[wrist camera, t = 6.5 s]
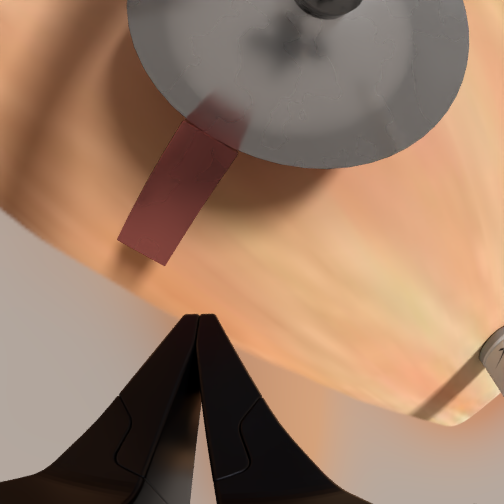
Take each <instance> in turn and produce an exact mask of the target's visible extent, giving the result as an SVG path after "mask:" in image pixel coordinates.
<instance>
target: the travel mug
mask: <svg viewBox="0 0 504 504" xmlns="http://www.w3.org/2000/svg"><path fill="white" fill-rule="evenodd" d="M479 359H480V361H481V363H482V364H483V366H484V367H485V368H486V370H487V371H488V373H489V374H490V376H491V378H492V379H493V381H494V382H495V384H496V385H497V387H498V388H499V390H500V392H501V393H502V395H503V396H504V327H502V328H500V329H499V330H497V331H496V332H495V333H494V334H493V335H492V336H491V337H490V338H489V339H488V340H487V342H486V343H485V344H484V346H483V348H482V350H481V352H480V356H479Z"/></svg>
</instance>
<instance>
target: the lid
mask: <svg viewBox="0 0 504 504" xmlns="http://www.w3.org/2000/svg"><path fill="white" fill-rule="evenodd" d="M127 14H128V24H129V29H130V33H131V37H132V40H133V44H134V48H135V50H136V52H137V54H138V57H139V59H140V61H141V63H142V65H143V68H144V69H145V71H146V72H147V74H148V75H149V77H150V79H151V80H152V82H153V83H154V85H155V86H156V88H157V89H158V90H159V91H160V92H161V94H162V95H163V96H164V97H165V98H166V99H167V100H168V102H169V103H170V104H171V105H172V106H173V107H174V108H175V109H176V110H177V111H179V112H180V113H181V114H182V115H183V116H184V117H185V118H186V119H185V120H183V122H182V123H181V125H180V126H179V128H178V129H177V131H176V133H175V134H174V136H173V138H172V139H171V141H170V142H169V144H168V146H167V147H166V149H165V151H164V152H163V154H162V156H161V158H160V159H159V161H158V163H157V164H156V166H155V168H154V170H153V171H152V173H151V175H150V177H149V179H148V180H147V182H146V184H145V186H144V188H143V190H142V191H141V193H140V195H139V197H138V199H137V201H136V203H135V205H134V207H133V208H132V210H131V212H130V214H129V216H128V218H127V220H126V222H125V224H124V226H123V228H122V230H121V232H120V234H119V237H118V239H117V240H118V241H120V242H122V243H123V244H125V245H127V246H129V247H131V248H132V249H134V250H136V251H138V252H140V253H141V254H143V255H145V256H147V257H149V258H150V259H152V260H154V261H156V262H158V263H160V264H162V265H163V266H165V265H166V264H167V262H168V260H169V259H170V257H171V255H172V254H173V252H174V251H175V249H176V247H177V246H178V244H179V243H180V241H181V239H182V238H183V236H184V235H185V233H186V231H187V230H188V228H189V227H190V225H191V224H192V222H193V221H194V219H195V217H196V216H197V214H198V213H199V211H200V210H201V208H202V207H203V205H204V204H205V202H206V201H207V199H208V198H209V196H210V195H211V193H212V192H213V190H214V189H215V187H216V186H217V184H218V183H219V181H220V180H221V178H222V177H223V175H224V174H225V172H226V171H227V169H228V168H229V166H230V165H231V164H232V162H233V161H234V159H235V158H236V156H237V155H238V151H237V150H239V151H241V152H244V153H246V154H249V155H251V156H254V157H256V158H260V159H263V160H267V161H271V162H274V163H278V164H282V165H289V166H295V167H301V168H318V169H333V168H346V167H353V166H358V165H363V164H368V163H372V162H375V161H378V160H381V159H384V158H387V157H389V156H392V155H394V154H396V153H398V152H400V151H402V150H404V149H406V148H408V147H409V146H411V145H412V144H413V143H415V142H416V141H418V140H419V139H421V138H422V137H423V136H425V135H426V134H427V133H428V132H429V131H430V130H431V129H432V128H433V127H434V126H435V125H436V124H437V123H438V122H439V121H440V120H441V118H442V117H443V116H444V115H445V113H446V112H447V111H448V109H449V108H450V106H451V104H452V103H453V101H454V99H455V97H456V96H457V93H458V91H459V88H460V86H461V84H462V81H463V78H464V74H465V70H466V66H467V60H468V52H469V28H468V21H467V15H466V10H465V6H464V3H463V0H127Z"/></svg>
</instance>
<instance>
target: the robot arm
mask: <svg viewBox="0 0 504 504" xmlns="http://www.w3.org/2000/svg"><path fill="white" fill-rule="evenodd" d="M201 402H202V409H203V417H204V424H205V431H206V439H207V446H208V453H209V459H210V465H211V471H212V478H213V482H214V489H215V495H216V501H217V504H372V503H370V502H368V501H366V500H363V499H361V498H359V497H357V496H355V495H353V494H351V493H349V492H347V491H345V490H344V489H342V488H341V487H339V486H338V485H336V484H335V483H334V482H333V481H332V480H331V479H329V478H328V477H327V476H326V475H325V474H324V473H323V472H322V471H321V470H320V468H319V467H318V466H317V465H316V464H315V463H314V462H313V461H312V460H311V459H310V458H309V457H308V456H307V454H305V453H304V451H303V450H302V449H301V448H300V447H299V446H298V445H297V443H295V441H294V440H293V439H292V438H291V437H290V435H289V434H288V433H287V432H286V430H285V429H284V428H283V427H282V425H281V424H280V423H279V421H278V420H277V418H276V417H275V415H274V414H273V412H272V411H271V409H270V408H269V406H268V405H267V403H266V401H265V400H264V398H262V395H261V393H260V392H259V390H258V388H257V387H256V385H255V383H254V382H253V380H252V378H251V377H250V375H249V373H248V371H247V370H246V368H245V366H244V365H243V363H242V361H241V360H240V358H239V356H238V354H237V352H236V351H235V349H234V347H233V345H232V344H231V342H230V340H229V338H228V336H227V335H226V333H225V331H224V329H223V327H222V326H221V324H220V322H219V320H218V318H217V317H216V315H215V314H201V315H200V316H199V315H198V314H185V315H184V316H183V317H182V318H181V319H180V321H179V322H178V323H177V324H176V325H175V327H174V328H173V329H172V330H171V331H170V333H169V334H168V335H167V336H166V337H165V339H164V340H163V341H162V342H161V344H160V345H159V346H158V347H157V348H156V350H155V351H154V352H153V353H152V354H151V356H150V357H149V358H148V359H147V361H146V362H145V363H144V364H143V365H142V367H141V368H140V369H139V371H138V372H137V373H136V374H135V375H134V376H133V378H132V379H131V380H130V381H129V383H128V384H127V385H126V386H125V388H124V389H123V390H122V391H121V392H120V394H119V396H117V397H116V398H115V400H114V401H113V402H112V403H111V405H110V406H109V407H108V408H107V409H106V410H105V412H104V413H103V414H102V415H101V416H100V417H99V418H98V420H97V421H96V422H95V423H94V424H93V425H92V426H91V427H90V428H89V429H88V430H87V431H86V432H85V433H84V434H83V435H82V436H81V437H80V438H79V439H78V440H77V441H76V442H74V444H72V445H71V447H69V448H68V449H67V450H66V451H65V452H64V453H63V454H62V455H61V456H60V457H59V458H58V459H57V460H56V461H55V462H53V463H52V464H51V465H50V466H48V467H47V468H45V469H44V470H42V471H40V472H38V473H36V474H34V475H30V476H26V477H22V478H18V479H13V480H8V481H3V482H0V504H190V497H191V486H192V478H193V469H194V460H195V451H196V443H197V434H198V426H199V418H200V410H201Z"/></svg>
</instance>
